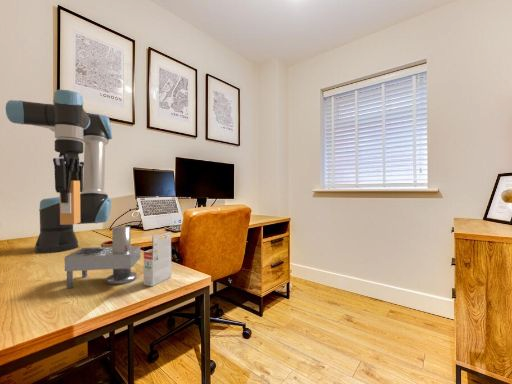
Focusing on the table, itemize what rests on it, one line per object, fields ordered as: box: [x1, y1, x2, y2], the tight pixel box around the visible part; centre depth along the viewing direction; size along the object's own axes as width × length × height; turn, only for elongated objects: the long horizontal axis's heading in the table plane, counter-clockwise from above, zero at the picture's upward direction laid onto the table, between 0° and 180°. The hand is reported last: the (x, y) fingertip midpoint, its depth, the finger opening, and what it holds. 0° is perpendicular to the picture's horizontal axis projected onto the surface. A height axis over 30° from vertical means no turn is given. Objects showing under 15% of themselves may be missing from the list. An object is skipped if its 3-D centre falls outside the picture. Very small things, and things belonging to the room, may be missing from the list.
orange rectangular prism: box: [59, 181, 81, 225], centre depth 82 cm, size 4×4×14 cm
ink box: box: [143, 230, 172, 287], centre depth 76 cm, size 4×8×15 cm, turn 158°
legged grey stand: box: [64, 225, 141, 290], centre depth 76 cm, size 17×10×16 cm, turn 100°
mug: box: [100, 240, 113, 247], centre depth 100 cm, size 12×7×7 cm, turn 37°
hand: (70, 212), depth 82 cm, fingers closed on orange rectangular prism, 4 cm apart
